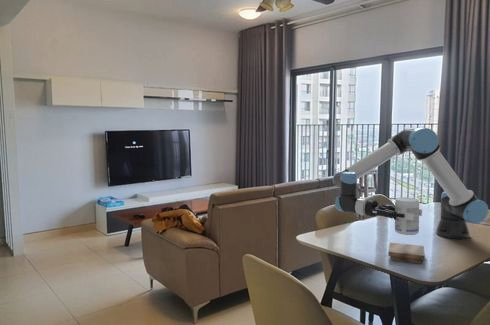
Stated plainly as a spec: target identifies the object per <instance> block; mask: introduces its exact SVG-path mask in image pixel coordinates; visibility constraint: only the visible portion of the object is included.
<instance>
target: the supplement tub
mask: <svg viewBox="0 0 490 325" xmlns="http://www.w3.org/2000/svg"><path fill="white" fill-rule="evenodd" d="M394 200H395V201H394V203H395V204H394V205H395V212H397V211H399V212H406V213H413V214H414V219H413V220H407V219H401V218H397V217H396V220H394V231H395V232H396V233H397V234H399V235H405V236H416V235H418V234H419V232H420V216H419V209H420V200H419V199H418V198H414V197H396V198H395V199H394Z"/></svg>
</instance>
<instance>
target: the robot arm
mask: <svg viewBox="0 0 490 325" xmlns="http://www.w3.org/2000/svg"><path fill="white" fill-rule="evenodd" d="M440 150H441V145H440V144H439V137H438V134H437V133H436V132H435V131H434V130H433V129H431V128H428V127H423V126H422V127H408V128H405V129H403V130H401V131H400V132H398V133H396V134H395V135H394V136H392V137H390V138H389V139H388V140H387V142H386V143H384V144H383V145H382V146H380V147H379V148H377V149H375V150H374V151H372V152H371V153H369V154H368V155H366V156H364V157H363V158H361V159H360V160H358V161H357V162H355V163H353V164H352V165H350V166H348V167H347V168H345V169H344V170H342V171H341V172H340V171H339V172H336V173H334V175H333V176H332V182H333V184H334V186H335V187H337V188H339V189H340V195H338V196H336V198H335V201H334V206H335V207H334V208H335V209H336V210H337V211H339V212H342V213H348V214H349V213H350V214H355V215H360V217H361V216H368V217H372V218H373V217H374V218H375V217H376V216H379V217H384V218H387V219H388V218H389V219H393V220H394V221H395V220H396V217H397V218H401V219H407V220H413V219H414V214H413V213H406V212H399V211H397V212H395V204H394V205H391V204H387V203H385V204H379V203H378V200H376V199H375V200H374V199H368V198H359V197H357V190H358V189H357V188H358V180H359V179H360V178H362V177H363V176H366V174H368V173H370V172H371V171H373V170H374V169H376V168H378V167H379V166H381V165H383V164H384V163H385V162H387V161H389V160H390V159H392V158H393V157H395V156H401V155H402V154H404V153H407V152H411V153H412V154H413V156H414V157H415V158H416V159H417V160H418V161H420V162H421V161H422V162H423V164H424V166H426V168H427V169H428V170H429V172H430V173H431V175H432V176H433V177H434V178H435V180H436V181H437V184H439V186H440V187H441V188H442V193H441V195H440V196H441V197H440V220H439V221H438V224H437V227H436V229H435V230H436V232H435V233H436V235H437V236H441V237H444V238H448V239H458V240H459V239H460V240H463V239H464V240H465V239H468V238H470V230H469V227H468V224H473V225H476V224H480V223H482V222H483V221H485V220H486V219H487V217H488V214H489V205H488V204H487V203H486V202H485V201H483V199H479V198H478V196H477V195H476V193H474V191H473V190H472V189H471V190H470V189H468V188H467V187H466V186H465V185H464V184H463V182H462V180H461V179H460V177H459V176H458V175H457V174H456V172H455V171H454V169H453V168H452V166H451V165H450V164H449V162H448V161H447V160H446V158H445V157H444V155H443V153H441V151H440ZM422 216H423V209H422V208H421V209H420V208H419V217H422ZM467 223H468V224H467Z"/></svg>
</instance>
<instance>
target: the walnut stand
mask: <svg viewBox="0 0 490 325" xmlns="http://www.w3.org/2000/svg"><path fill="white" fill-rule="evenodd" d="M387 254H388V256H392V257H391V260H392V261H395V262H403V263H411V264H419V265H420V264H421V262H422V261H421V260H426V254H425V246H424V245H420V244H419V245H417V244H408V243H399V242H398V243H397V242H389V246H388V253H387Z"/></svg>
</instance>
